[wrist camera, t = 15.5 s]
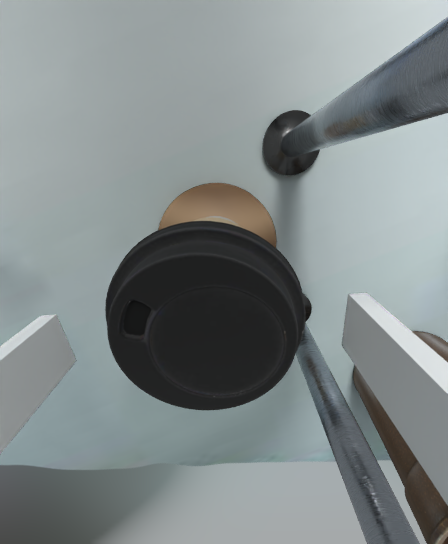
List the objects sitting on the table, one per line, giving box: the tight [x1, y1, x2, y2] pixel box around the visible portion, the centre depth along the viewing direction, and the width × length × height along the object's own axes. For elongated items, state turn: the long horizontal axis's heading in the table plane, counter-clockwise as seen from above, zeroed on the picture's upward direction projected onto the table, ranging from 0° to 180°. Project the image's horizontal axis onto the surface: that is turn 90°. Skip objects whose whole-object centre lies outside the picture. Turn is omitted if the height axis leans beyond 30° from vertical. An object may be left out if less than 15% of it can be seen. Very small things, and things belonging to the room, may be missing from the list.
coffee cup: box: [106, 216, 306, 410], centre depth 17 cm, size 9×9×15 cm
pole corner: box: [263, 17, 448, 175], centre depth 12 cm, size 5×5×20 cm
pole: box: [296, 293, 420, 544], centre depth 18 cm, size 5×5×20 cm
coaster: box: [158, 183, 276, 248], centre depth 24 cm, size 12×12×1 cm
